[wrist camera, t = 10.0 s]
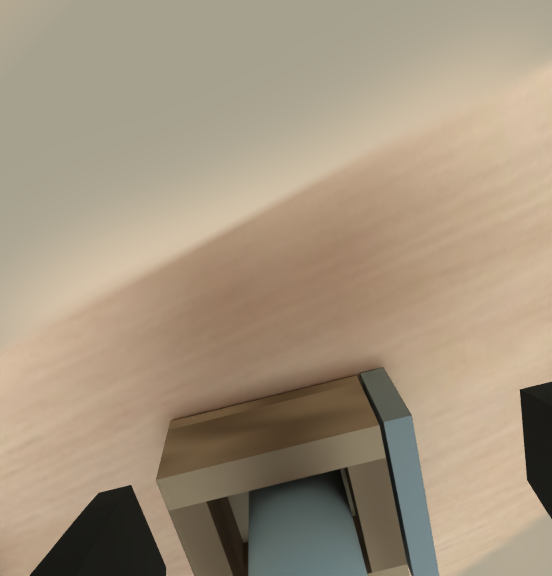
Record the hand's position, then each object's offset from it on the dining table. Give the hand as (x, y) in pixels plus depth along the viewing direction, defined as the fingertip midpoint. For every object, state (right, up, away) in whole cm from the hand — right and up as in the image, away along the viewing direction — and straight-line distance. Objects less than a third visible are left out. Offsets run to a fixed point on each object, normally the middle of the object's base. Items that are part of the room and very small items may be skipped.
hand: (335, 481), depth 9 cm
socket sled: (-1, -5, +12) cm, 13 cm away
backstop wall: (+4, -4, +12) cm, 14 cm away
